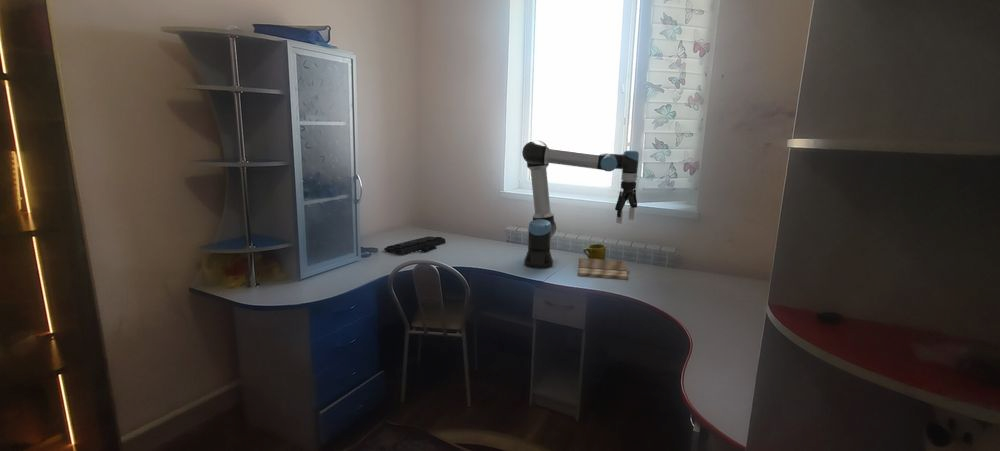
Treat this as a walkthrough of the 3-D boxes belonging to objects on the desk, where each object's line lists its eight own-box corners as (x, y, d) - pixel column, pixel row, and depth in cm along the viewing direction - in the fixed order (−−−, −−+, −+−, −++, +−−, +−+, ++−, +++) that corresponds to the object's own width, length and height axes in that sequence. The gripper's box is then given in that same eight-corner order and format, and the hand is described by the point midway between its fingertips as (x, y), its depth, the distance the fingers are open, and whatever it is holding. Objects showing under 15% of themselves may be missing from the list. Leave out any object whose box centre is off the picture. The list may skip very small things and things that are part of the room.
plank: (578, 269, 246) (578, 266, 245) (578, 260, 252) (578, 257, 251) (626, 272, 242) (626, 270, 241) (625, 263, 248) (625, 261, 247)
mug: (606, 254, 270) (604, 239, 265) (608, 264, 261) (605, 249, 256) (584, 256, 272) (582, 242, 267) (585, 267, 263) (583, 252, 258)
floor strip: (577, 275, 237) (577, 272, 237) (578, 270, 246) (578, 267, 245) (627, 279, 233) (627, 276, 232) (626, 273, 242) (626, 270, 241)
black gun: (427, 239, 304) (427, 232, 303) (453, 245, 291) (453, 238, 290) (382, 251, 275) (382, 243, 274) (409, 258, 262) (409, 250, 261)
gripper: (624, 183, 234) (620, 225, 239) (646, 180, 253) (642, 219, 257) (610, 182, 239) (607, 223, 244) (633, 178, 257) (629, 217, 262)
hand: (625, 221), depth 251 cm, fingers open, 13 cm apart
